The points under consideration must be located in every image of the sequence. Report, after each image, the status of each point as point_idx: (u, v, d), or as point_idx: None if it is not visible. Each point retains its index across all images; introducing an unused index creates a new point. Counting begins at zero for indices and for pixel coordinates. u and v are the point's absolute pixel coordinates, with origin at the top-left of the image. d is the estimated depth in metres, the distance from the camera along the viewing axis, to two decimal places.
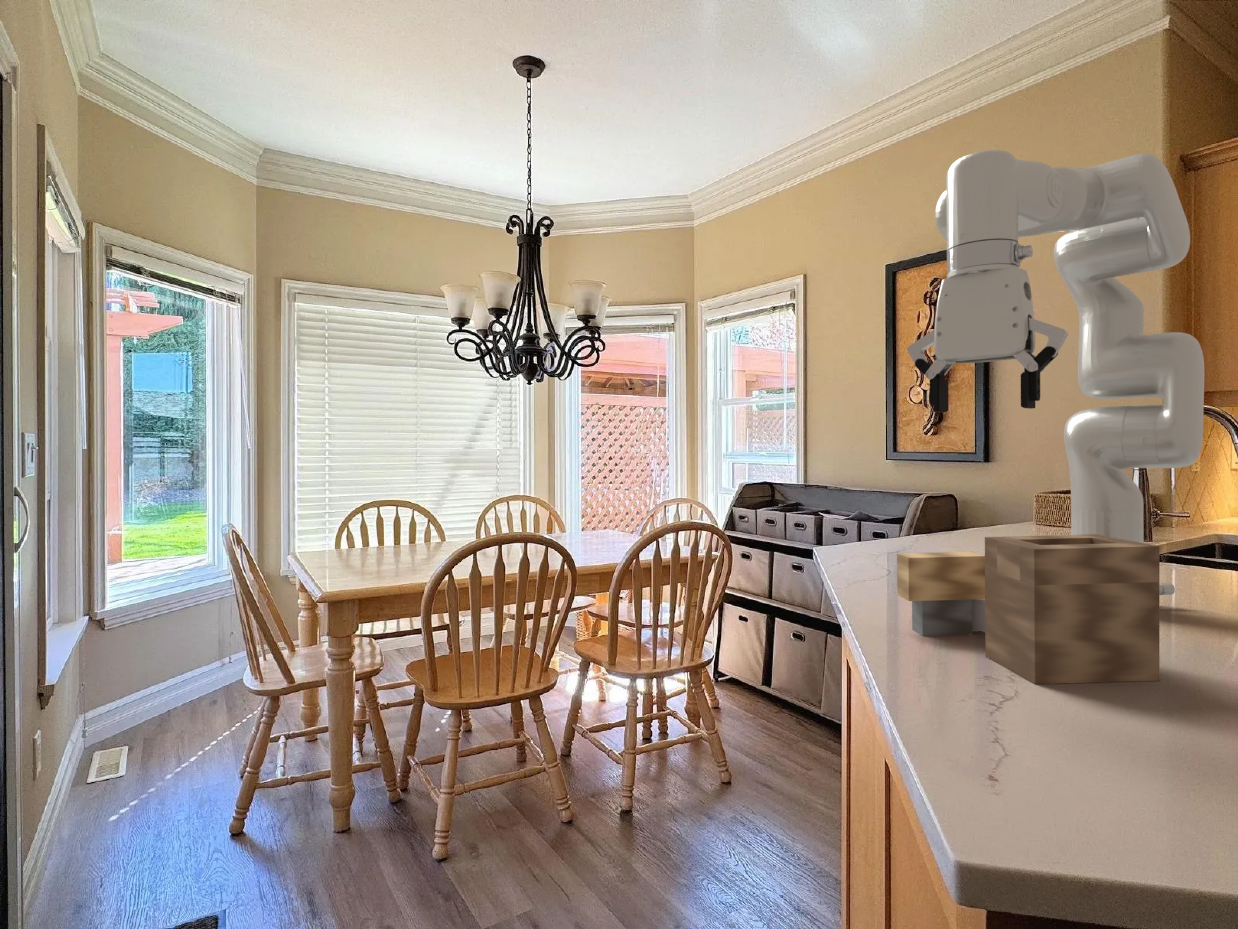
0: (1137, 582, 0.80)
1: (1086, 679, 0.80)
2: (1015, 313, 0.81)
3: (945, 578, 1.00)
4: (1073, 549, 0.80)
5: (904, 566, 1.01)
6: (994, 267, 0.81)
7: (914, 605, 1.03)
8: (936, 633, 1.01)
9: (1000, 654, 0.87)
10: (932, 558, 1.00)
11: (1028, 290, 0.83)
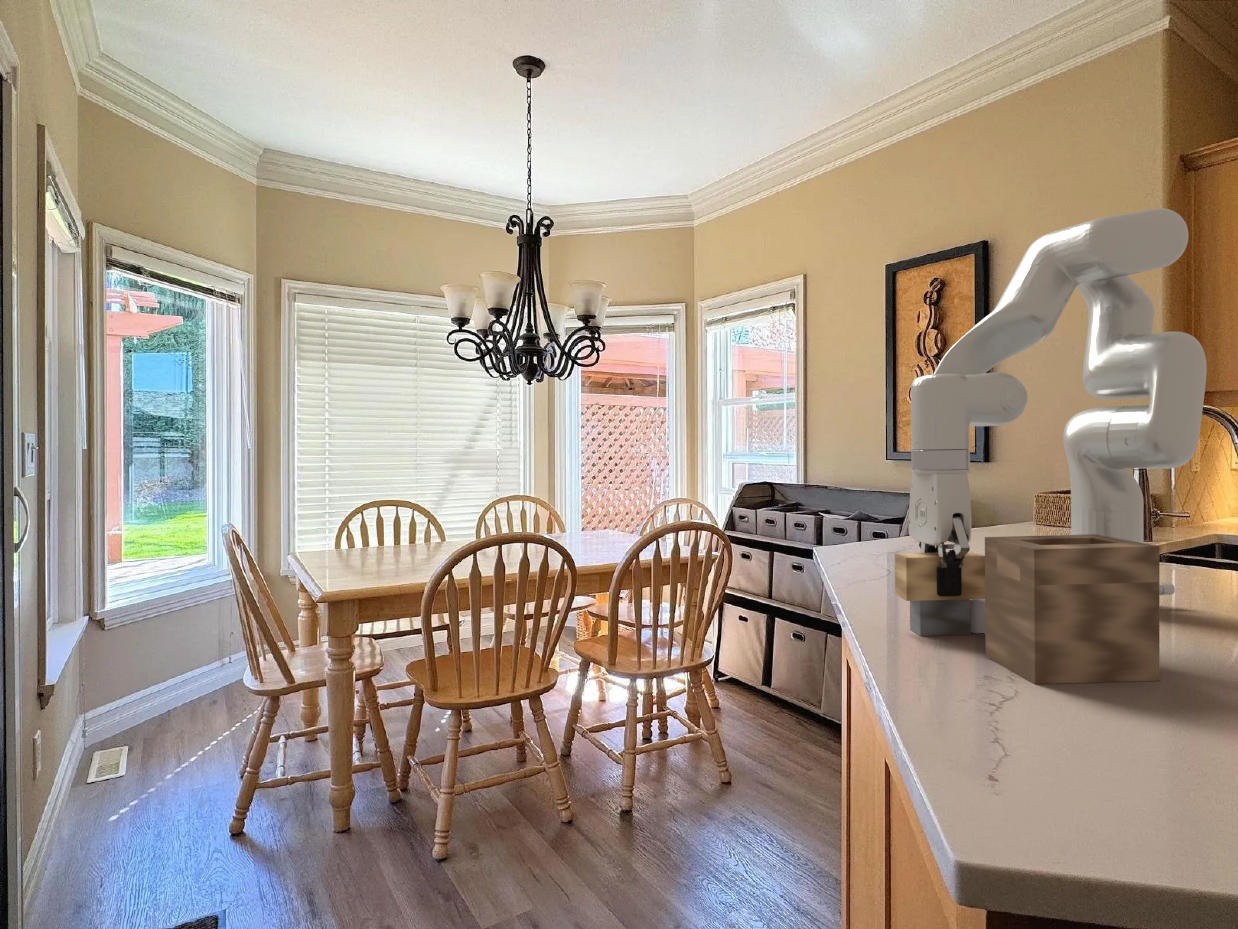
0: (1137, 582, 0.80)
1: (1086, 679, 0.80)
2: None
3: None
4: (1073, 549, 0.80)
5: (902, 566, 1.01)
6: None
7: (912, 605, 1.03)
8: (934, 633, 1.01)
9: (1000, 654, 0.87)
10: (930, 558, 1.00)
11: None
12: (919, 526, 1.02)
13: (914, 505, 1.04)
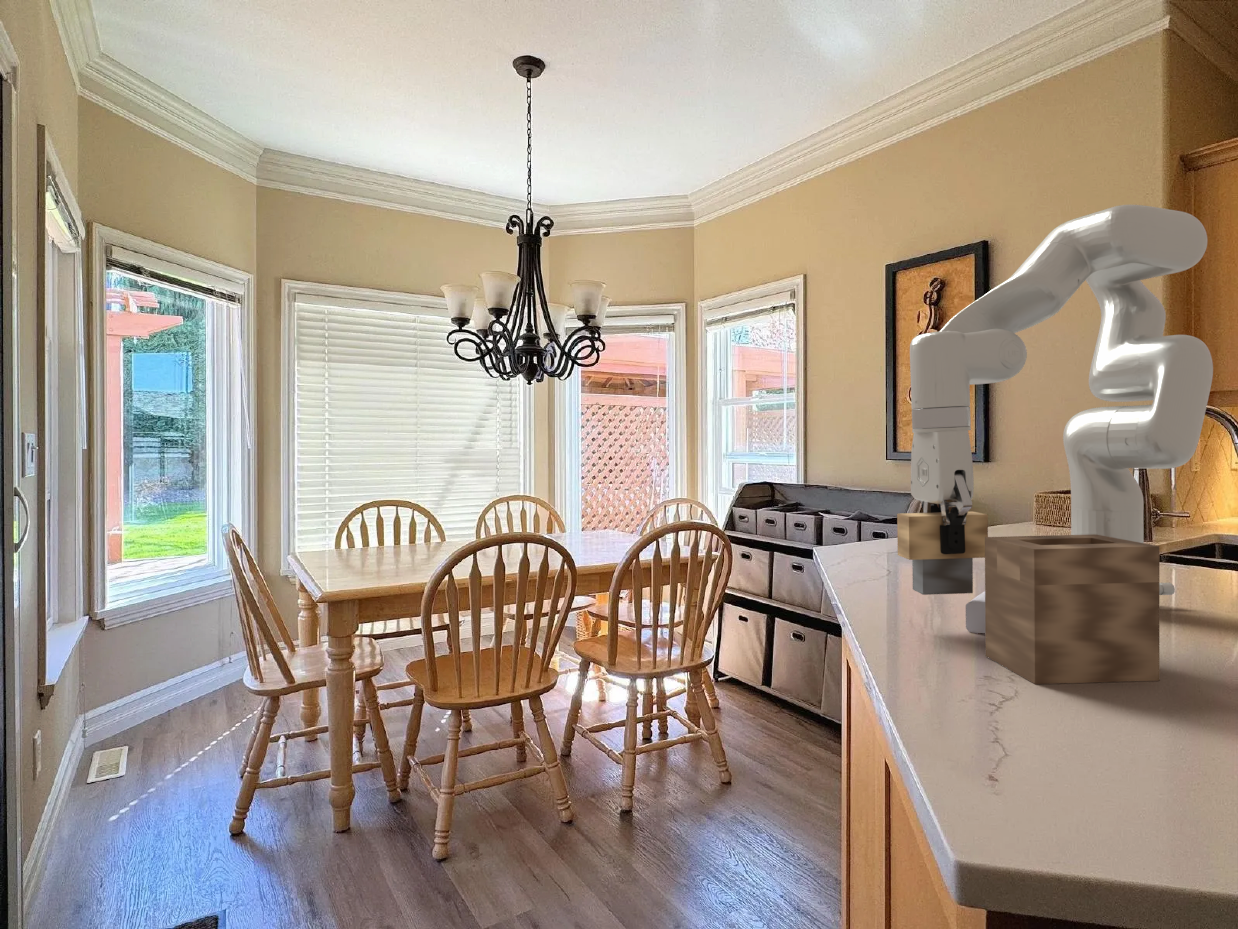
0: (1137, 582, 0.80)
1: (1086, 679, 0.80)
2: None
3: None
4: (1073, 549, 0.80)
5: (905, 525, 1.01)
6: None
7: (914, 565, 1.03)
8: (936, 592, 1.01)
9: (1000, 654, 0.87)
10: (932, 517, 1.00)
11: None
12: (921, 485, 1.02)
13: (916, 465, 1.04)
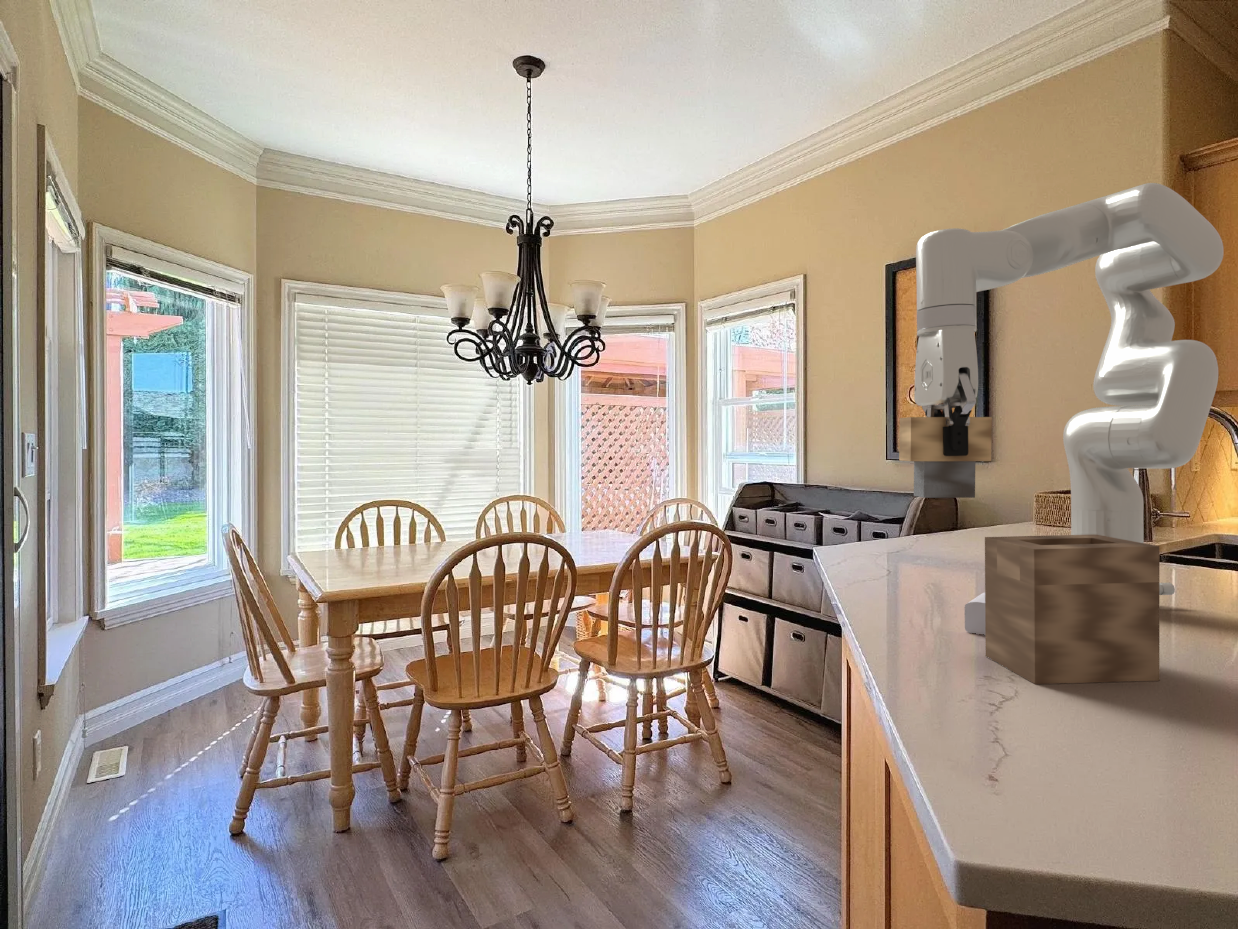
0: (1137, 582, 0.80)
1: (1086, 679, 0.80)
2: None
3: None
4: (1073, 549, 0.80)
5: (907, 427, 1.00)
6: None
7: (916, 469, 1.01)
8: (938, 495, 0.99)
9: (1000, 654, 0.87)
10: (935, 418, 0.98)
11: None
12: (924, 389, 1.01)
13: (920, 369, 1.02)
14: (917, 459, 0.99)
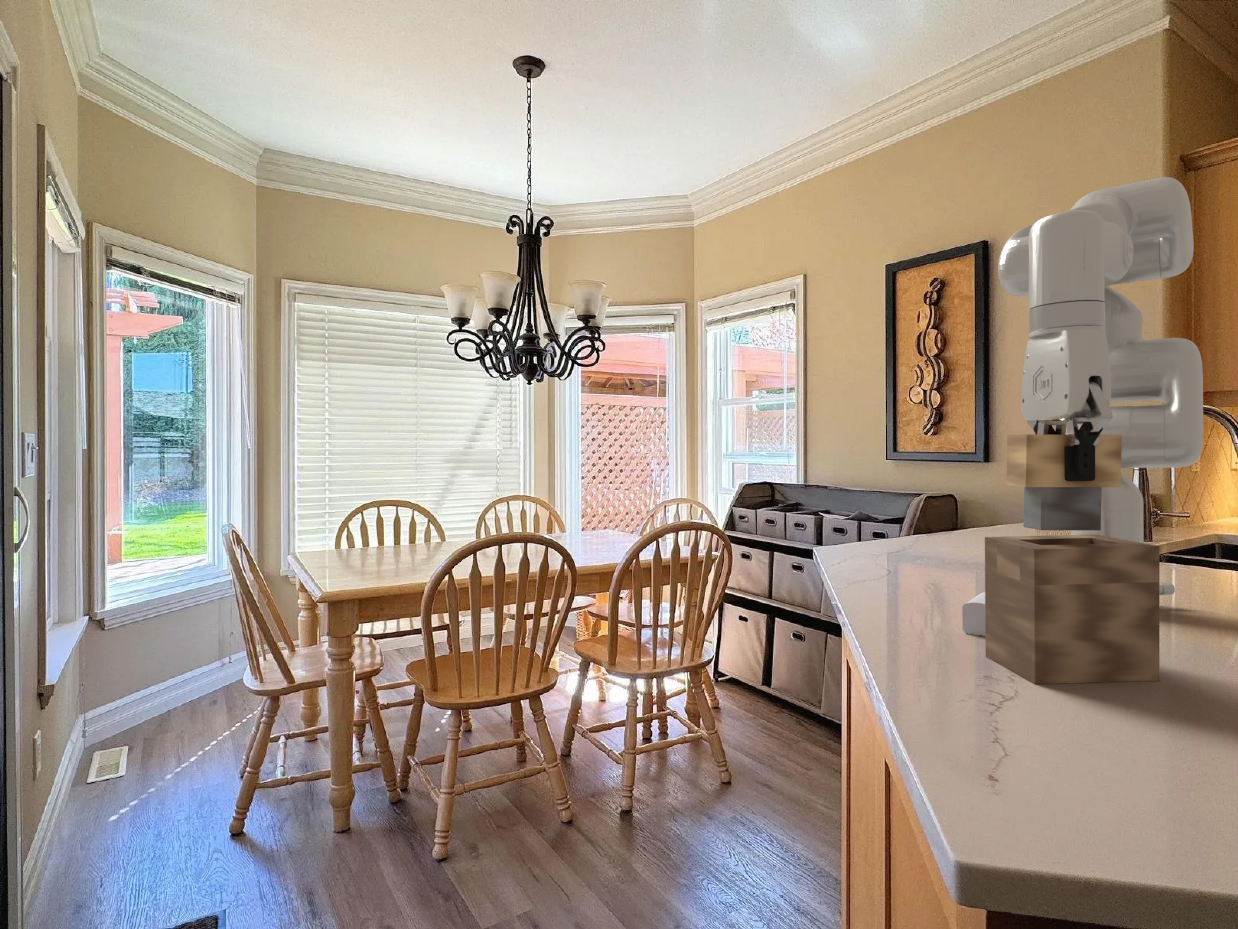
0: (1137, 582, 0.80)
1: (1086, 679, 0.80)
2: None
3: None
4: (1073, 549, 0.80)
5: (1020, 446, 0.84)
6: None
7: (1028, 496, 0.86)
8: (1057, 527, 0.83)
9: (1000, 654, 0.87)
10: (1055, 435, 0.83)
11: None
12: (1039, 401, 0.85)
13: (1031, 377, 0.87)
14: (1033, 484, 0.83)
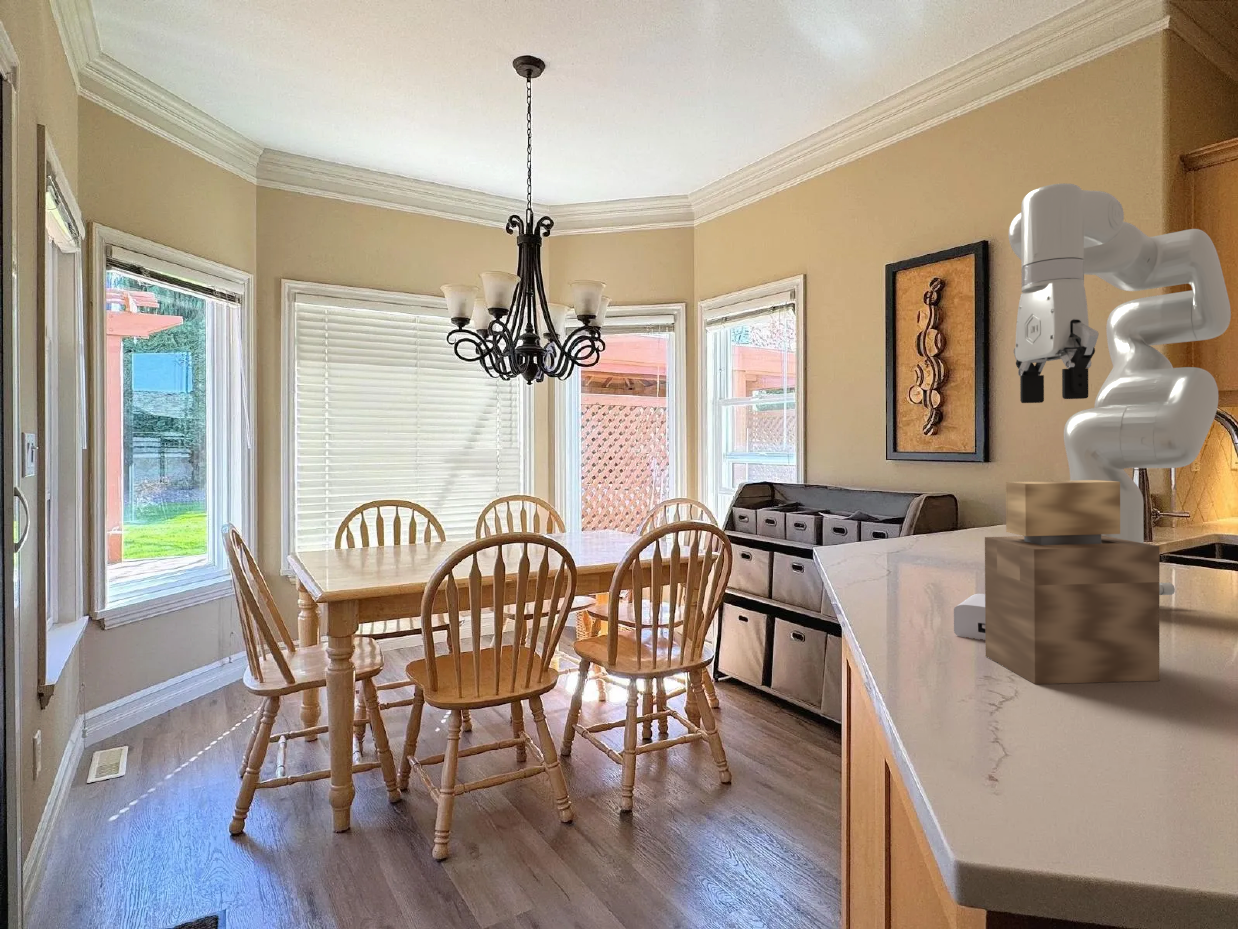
0: (1137, 582, 0.80)
1: (1086, 679, 0.80)
2: None
3: (1069, 508, 0.83)
4: (1073, 549, 0.80)
5: (1019, 495, 0.84)
6: None
7: None
8: None
9: (1000, 654, 0.87)
10: (1054, 484, 0.83)
11: None
12: (1030, 343, 1.02)
13: (1023, 325, 1.03)
14: (1033, 533, 0.83)
